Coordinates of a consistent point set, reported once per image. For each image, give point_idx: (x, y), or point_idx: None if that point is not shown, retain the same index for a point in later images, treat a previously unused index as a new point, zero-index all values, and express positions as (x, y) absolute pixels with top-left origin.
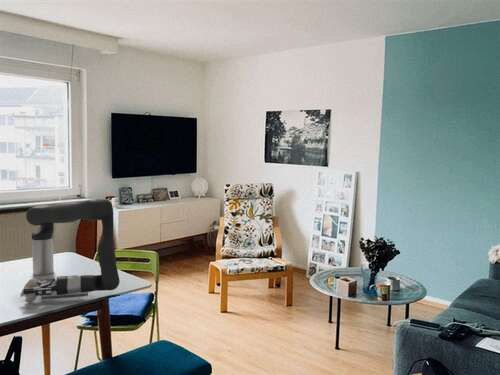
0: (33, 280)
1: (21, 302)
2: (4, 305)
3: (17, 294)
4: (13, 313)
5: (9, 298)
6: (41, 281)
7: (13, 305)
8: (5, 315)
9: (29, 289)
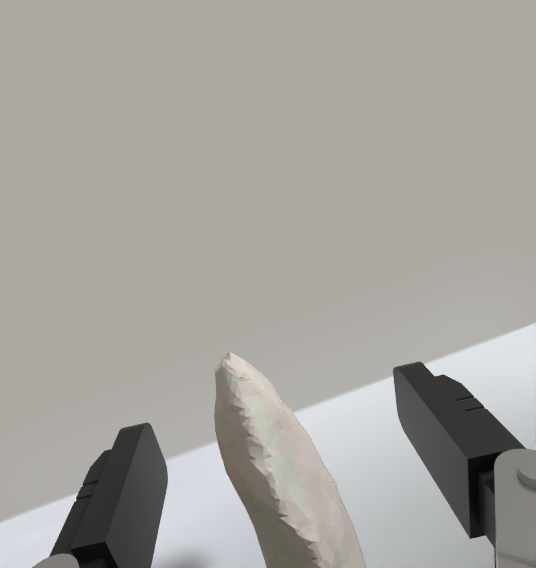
0: (228, 403)
1: None
2: None
3: (523, 399)
4: None
5: None
6: (500, 554)
7: None
8: (49, 508)
9: (103, 497)
